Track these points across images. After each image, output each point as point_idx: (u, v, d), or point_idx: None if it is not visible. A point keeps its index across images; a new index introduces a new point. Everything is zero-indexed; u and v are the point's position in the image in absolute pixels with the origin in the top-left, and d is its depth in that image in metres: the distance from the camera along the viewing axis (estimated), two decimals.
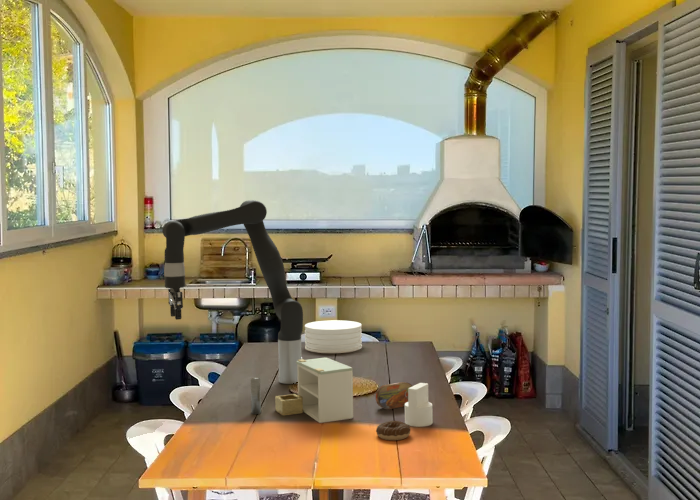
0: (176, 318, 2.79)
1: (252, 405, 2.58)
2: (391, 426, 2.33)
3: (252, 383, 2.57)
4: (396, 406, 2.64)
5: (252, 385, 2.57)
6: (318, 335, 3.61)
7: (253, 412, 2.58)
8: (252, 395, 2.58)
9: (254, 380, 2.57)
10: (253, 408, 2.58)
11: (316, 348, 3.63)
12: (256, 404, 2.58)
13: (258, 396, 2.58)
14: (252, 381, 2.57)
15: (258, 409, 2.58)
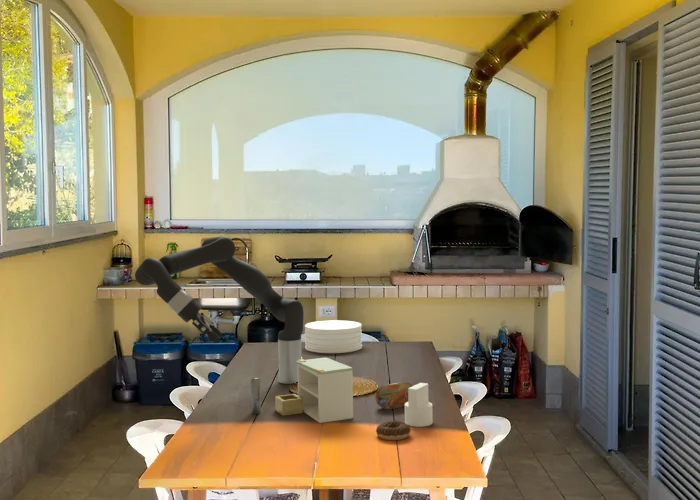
0: (215, 341, 2.52)
1: (252, 405, 2.58)
2: (391, 426, 2.33)
3: (252, 383, 2.57)
4: (396, 406, 2.64)
5: (252, 385, 2.57)
6: (318, 335, 3.61)
7: (253, 412, 2.58)
8: (252, 395, 2.58)
9: (254, 380, 2.57)
10: (253, 408, 2.58)
11: (316, 348, 3.63)
12: (256, 404, 2.58)
13: (258, 396, 2.58)
14: (252, 381, 2.57)
15: (258, 409, 2.58)
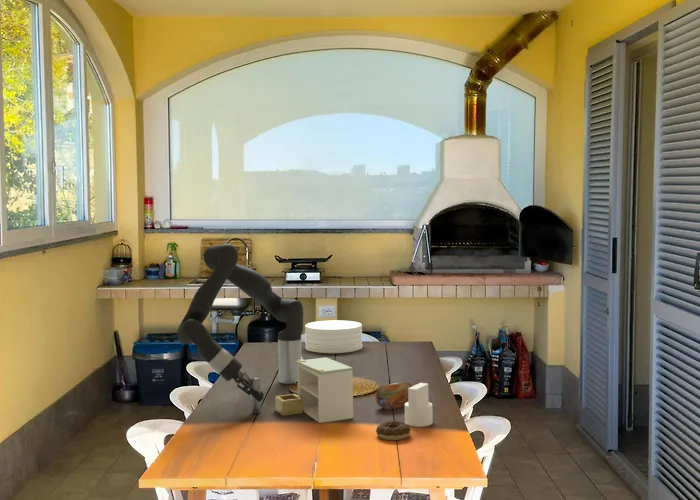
0: (259, 400, 2.57)
1: (252, 405, 2.58)
2: (391, 426, 2.33)
3: (252, 383, 2.57)
4: (396, 406, 2.64)
5: (252, 385, 2.57)
6: (318, 335, 3.61)
7: (253, 412, 2.58)
8: None
9: (254, 380, 2.57)
10: (253, 408, 2.58)
11: (316, 348, 3.63)
12: (256, 404, 2.58)
13: None
14: (252, 381, 2.57)
15: (258, 409, 2.58)
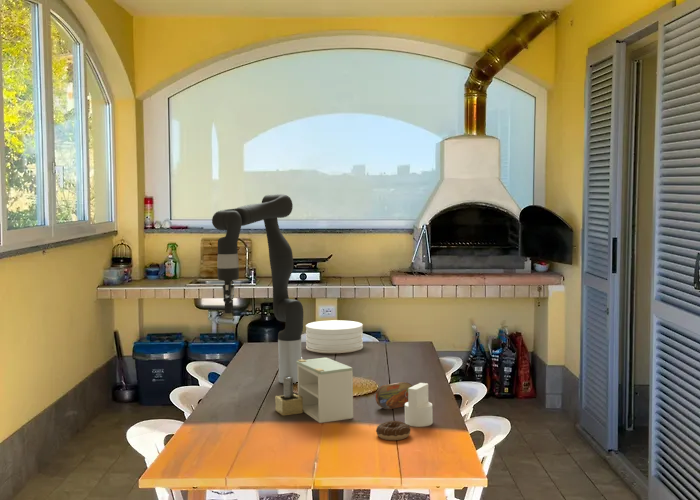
0: (225, 312, 2.66)
1: None
2: (391, 426, 2.33)
3: (285, 382, 2.58)
4: (396, 406, 2.64)
5: (285, 384, 2.58)
6: (319, 335, 3.61)
7: None
8: (285, 394, 2.58)
9: (287, 379, 2.58)
10: None
11: (317, 348, 3.63)
12: None
13: (291, 395, 2.59)
14: (285, 380, 2.58)
15: None
